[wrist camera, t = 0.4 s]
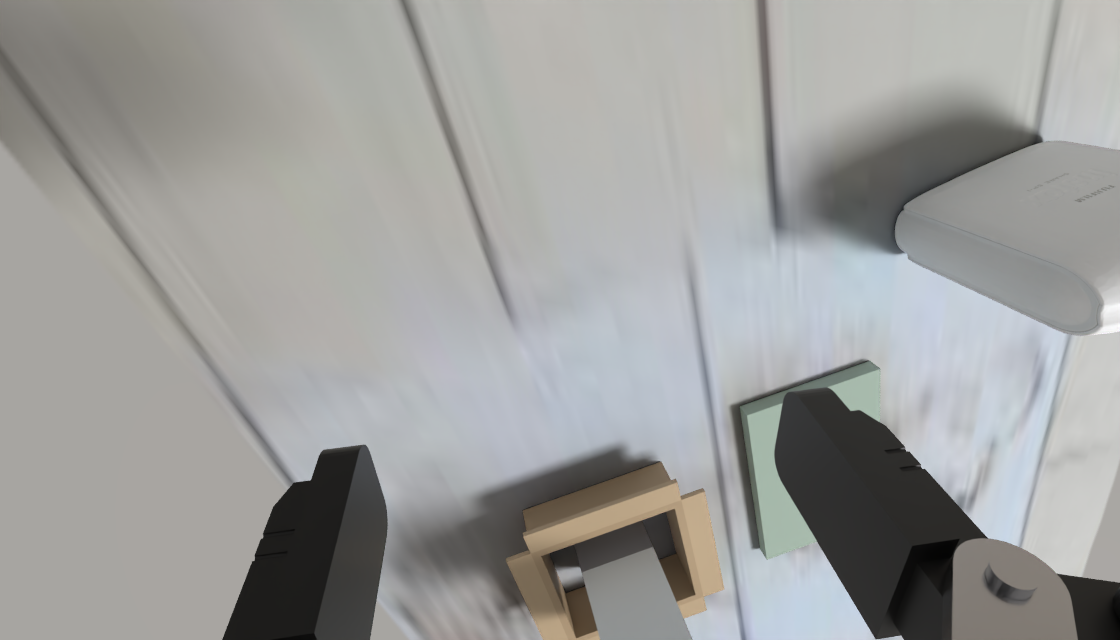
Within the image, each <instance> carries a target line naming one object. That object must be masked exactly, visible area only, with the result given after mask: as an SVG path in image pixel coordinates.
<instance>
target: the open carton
mask: <svg viewBox="0 0 1120 640" xmlns="http://www.w3.org/2000/svg"><path fill="white" fill-rule="evenodd" d="M664 512H666V514H667V518H668V522H669V526H670V530H671V534H672V538H673V542H674V546H675V550H676V554H674V555H671V556H668V557H665V558H663V559H660V560H659V562H660V564H661V567H662V569H663V571H664V574H665V576H666V578H667V581H668V583H669V585H670V588H671V590H672V593H673V595H674V597H675V600H676V602H677V604H678V607H679V609H680V611H681V614H682V616H683V618H687V617H689V616H692V615H695V614H698V613H700V612H703V611H706V610H707V609H706V605H705V601H704V597H705V596H707V595H710V594H713V593H716V592H718V591H721V590H724V585H723V580H722V575H721V570H720V565H719V560H718V555H717V550H716V545H715V540H714V535H713V530H712V525H711V520H710V515H709V510H708V505H707V500H706V495H705V491H704V489H703V488H702V489H699V490H696V491H693V492H691V493H688V494H685V495H682V496H680V492H679V488H678V483H677V481H676V479H674V480H671V479H670V478H669V476H668V474H667V472H666V470H665V468H664V466H663V464H662V462H659V463H656V464H653V465H650V466H647V467H645V468H642V469H639V470H636V471H633V472H630V473H628V474H625V475H622V476H619V477H616V478H613V479H610V480H608V481H605V482H602V483H599V484H596V485H593V486H591V487H588V488H585V489H582V490H579V491H576V492H574V493H571V494H568V495H565V496H562V497H559V498H557V499H554V500H551V501H548V502H545V503H542V504H539V505H537V506H534V507H531V508H528V509H525V510H523V515H524V521H525V526H526V531H527V532H524V533H523V537H524V540H525V542H526V544H527V546H528V549H529V550H528V551H525V552H522V553H519V554H516V555H513V556H511V557H508V558H506V562H507V564H508V566H509V569H510V571H511V573H512V575H513V577H514V579H515V581H516V583H517V585H518V588H519V590H520V592H521V594H522V596H523V598H524V600H525V602H526V604H527V606H528V609H529V611H530V613H531V615H532V617H533V619H534V621H535V623H536V625H537V628H538V630H539V632H540V634H541V636H542V638H543V640H600V637H599V634H598V630H597V626H596V623H595V619H594V615H593V612H592V608H591V604H590V601H589V597H588V594H587V590H586V586H585V587H582V588H579V589H577V590H574V591H571V592H568V593H565V591H564V589H563V586H562V584H561V581H560V579H559V577H558V574H557V572H556V569H555V567H554V564H553V562H552V560H551V557H550V555H549V553H551V552H554V551H557V550H560V549H563V548H566V547H568V546H571V545H574V544H577V543H580V542H582V541H585V540H588V539H591V538H594V537H596V536H599V535H602V534H605V533H608V532H610V531H613V530H616V529H619V528H622V527H624V526H627V525H630V524H633V523H636V522H638V521H641V520H644V519H647V518H650V517H652V516H655V515H658V514H661V513H664Z"/></svg>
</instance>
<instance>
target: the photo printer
mask: <svg viewBox="0 0 1120 640" xmlns="http://www.w3.org/2000/svg"><path fill="white" fill-rule="evenodd" d="M895 239H896V243H897V245H898V247H899V248H900V249H901V250H902V251H903V252H905V253H907V256H908V259H909V260H911V261H912V262H914V263H916V264H918V265H919V266H922V267H923V268H926V269H928V270H930V271H932V272H934V273H937V274H939V275H941V276H943V277H945V278H947V279H950V280H952V281H954V282H956V283H958V284H960V285H962V286H964V287H967V288H969V289H971V290H973V291H975V292H977V293H979V294H982V295H984V296H986V297H988V298H990V299H992V300H994V301H996V302H999V303H1001V304H1003V305H1005V306H1007V307H1009V308H1011V309H1013V310H1015V311H1017V312H1020V313H1021V314H1024V315H1026V316H1028V317H1030V318H1032V319H1035V320H1037V321H1039V322H1041V323H1043V324H1045V325H1047V326H1049V327H1051V328H1053V329H1056V330H1058V331H1061V332H1063V333H1067V334H1071V335H1078V336H1088V335H1099V334H1106V333H1113V332H1119V331H1120V150H1115V149H1109V148H1103V147H1098V146H1091V145H1085V144H1079V143H1073V142H1066V141H1047V142H1042V143H1038V144H1035V145H1032V146H1029V147H1026V148H1024V149H1021V150H1019V151H1016V152H1014V153H1011V154H1009V155H1007V156H1004V157H1002V158H999V159H997V160H995V161H993V162H990V163H988V164H986V165H983V166H981V167H979V168H977V169H975V170H972V171H970V172H968V173H965V174H963V175H961V176H959V177H957V178H955V179H953V180H951V181H949V182H946V183H944V184H942V185H940V186H938V187H936V188H934V189H932V190H930V191H928V192H926V193H924V194H922V195H920V196H918V197H916V198H915V199H913V200H911V201H910V202H908V203H907V204H906V205H905V206H904V210H903V211H901V213H900V214H899V216H898V218H897V221H896V226H895Z"/></svg>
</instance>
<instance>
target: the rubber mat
mask: <svg viewBox="0 0 1120 640" xmlns="http://www.w3.org/2000/svg"><path fill="white" fill-rule="evenodd" d="M822 387H828V388H830V389H831V390H833V391H834V392H835V393H836V394H837V396H838V397H839V398H840V399H841V400H842V401H843V403H844V404H845V405H846V406H847V407H848V408H849V410H850V411H855V410H861V411H862V412H864V413H866V414H867V415H869V416H870V417H872V418H874V419H875V420H877V421H878V422H880V368H879V367H877V366H876V365H875V364H873V363H872V362H871V361H868V362H865V363H862V364H859V365H857V366H854V367H851V368H848V369H845V370H842V371H839V372H837V373H834V374H831V375H828V376H825V377H822V378H819V379H817V380H814V381H811V382H808V383H805V384H802V385H799V386H797V387H794V388H791V389H788V390H785V391H782V392H779V393H776V394H774V395H771V396H768V397H765V398H762V399H759V400H756V401H754V402H751V403H748V404H745V405H742V406H740V412H741V419H742V426H743V433H744V440H745V447H746V454H747V461H748V468H749V475H750V482H751V489H752V496H753V503H754V509H755V516H756V523H757V530H758V537H759V544H760V550H761V551H762V553H763V554H764V556H765V558H766V559H767V560H768V559H770V558H773V557H776V556H779V555H781V554H784V553H787V552H790V551H792V550H795V549H798V548H801V547H803V546H806V545H809V544H812V543H814V542H817V540H816V539H815V537H814V535H813V534H812V532H811V530H810V529H809V527H808V525H807V524H806V522H805V520H804V519H803V517H802V515H801V514H800V512H799V510H798V509H797V507H796V505H795V504H794V502H793V500H792V499H791V497H790V495H789V494H788V492H787V490H786V489H785V487H784V485H783V484H782V482H781V480H780V478H779V475H778V472H777V469H776V465H775V458H774V450H775V444H776V438H777V432H778V427H779V421H780V415H781V410H782V404H783V399H784V397H785V395H786V393H788V392H791V391H799V390H807V389H815V388H822Z"/></svg>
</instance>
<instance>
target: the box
mask: <svg viewBox="0 0 1120 640" xmlns="http://www.w3.org/2000/svg"><path fill="white" fill-rule="evenodd" d="M574 546H575V550H576V553H577V557H578V561H579V564H580V568H581V572H582V575H583V579H584V583H585V586H586V590H587V594H588V597H589V601H590V604H591V608H592V612H593V615H594V619H595V623H596V626H597V630H598V634H599V637H600V640H692V637H691V635H690V633H689V630H688V628H687V625H686V623H685V621H684V618H683V616H682V614H681V611H680V609H679V607H678V604H677V602H676V600H675V597H674V595H673V593H672V590H671V588H670V585H669V583H668V581H667V578H666V576H665V574H664V571H663V569H662V567H661V564H660V562H659V560H658V557H657V555H656V553H655V550H654V548H653V545H652V543H651V541H650V538H649V536H648V534H647V531H646V529H645V527H644V524H643V522H642V520H641V521H638V522H636V523H633V524H630V525H627V526H624V527H622V528H619V529H616V530H613V531H610V532H608V533H605V534H602V535H599V536H596V537H594V538H591V539H588V540H585V541H582V542H580V543H577V544H574Z"/></svg>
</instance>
